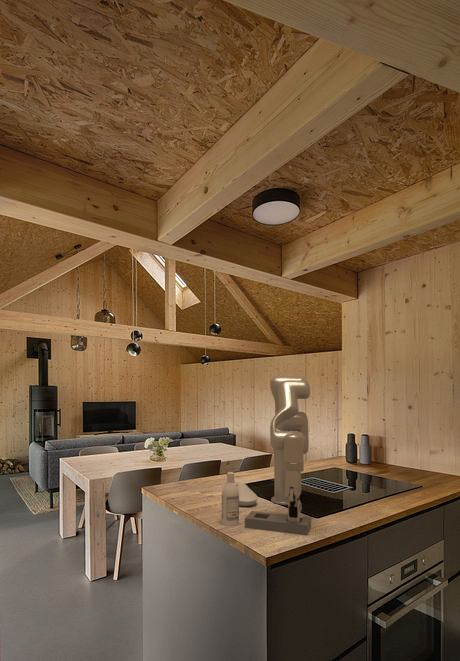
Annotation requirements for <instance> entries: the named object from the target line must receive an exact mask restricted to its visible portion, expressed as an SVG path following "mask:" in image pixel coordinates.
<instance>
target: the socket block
mask: <svg viewBox="0 0 460 661" xmlns="http://www.w3.org/2000/svg"><path fill="white" fill-rule="evenodd" d="M311 519H312V517H310V516H302V515H301V522H300V523H299V522H290V521H288V514H283V513H273V512H265V511H255V510H251V511H250V512H249V513H248V514H247V515H246V517H245V518H244V529H251V530H259V531H266V532H267V531H268V532H276V533H283V534H291V535H300V536H308V534H309V532H310V530H311V527H312V524H311V522H312V520H311Z"/></svg>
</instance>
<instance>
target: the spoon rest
mask: <svg viewBox="0 0 460 661" xmlns="http://www.w3.org/2000/svg"><path fill="white" fill-rule="evenodd" d="M236 486H237V488H238V491H239V507H250V506H253V505H254V504H256V502H257V501H258V500H259V499H258V496H257V494H256V493H255V492H254V491H253V490H252V489H251V488H249V486H248V485H247V484H245V482H243V483H242V482H241V483H239V482H238V483H236Z"/></svg>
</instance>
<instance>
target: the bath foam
mask: <svg viewBox="0 0 460 661" xmlns="http://www.w3.org/2000/svg"><path fill="white" fill-rule="evenodd" d="M236 485H237V483H235V472H232V471H228V472H227V473H226V483H225V484H224V486H223V488H222V490H221V525H223V526H225V527H236V526H238V525H239V524H240V505H239V491H238V488H237V486H236Z"/></svg>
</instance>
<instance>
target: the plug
mask: <svg viewBox="0 0 460 661" xmlns="http://www.w3.org/2000/svg"><path fill="white" fill-rule="evenodd" d="M293 501H295V500H293ZM302 504H303V503H302V502H301V500H300V499H299V500H297V511H298V517H297V518H293V517H289V501H288V505H287V508H288V509H287V510H288V513H287V515H288V521H290V522H299V523H300V522H301V516H302V514H301V511H302V509H303V508H302Z"/></svg>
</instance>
